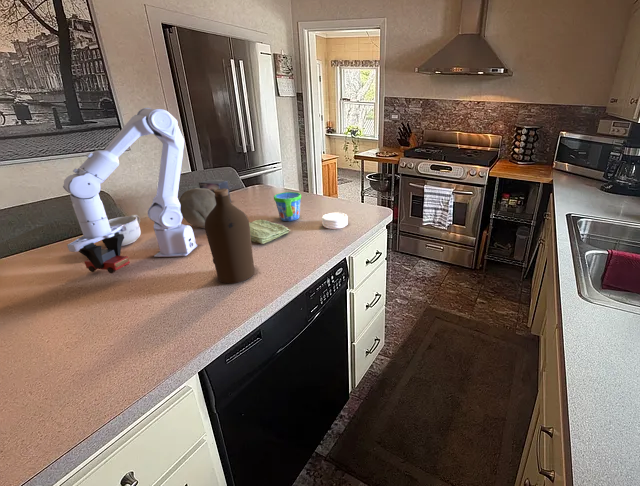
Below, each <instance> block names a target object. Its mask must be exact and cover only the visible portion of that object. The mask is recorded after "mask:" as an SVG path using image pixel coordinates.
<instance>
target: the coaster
mask: <svg viewBox="0 0 640 486" xmlns="http://www.w3.org/2000/svg"><path fill="white" fill-rule="evenodd" d="M321 219H322V220H321V223H322V224H321V225H322V227H324V228H325V229H330V230H332V229H334V230H338V229H342V228H345V227H346V226H348V225H349V224H348V223H349V219H348V215H347V214H346V213H345V212H329V213H326V214H324V215H322V216H321Z"/></svg>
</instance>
